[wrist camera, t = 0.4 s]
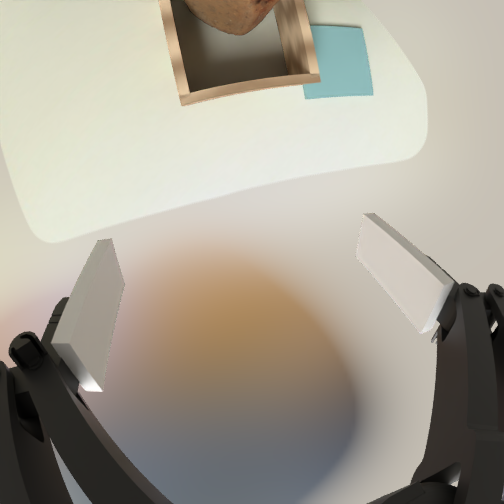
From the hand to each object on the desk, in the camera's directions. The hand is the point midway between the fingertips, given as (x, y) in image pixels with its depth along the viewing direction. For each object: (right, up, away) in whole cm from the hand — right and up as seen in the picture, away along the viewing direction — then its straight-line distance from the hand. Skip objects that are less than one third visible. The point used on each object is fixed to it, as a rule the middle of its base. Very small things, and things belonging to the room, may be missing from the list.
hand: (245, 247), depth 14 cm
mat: (+13, +29, +19) cm, 37 cm away
